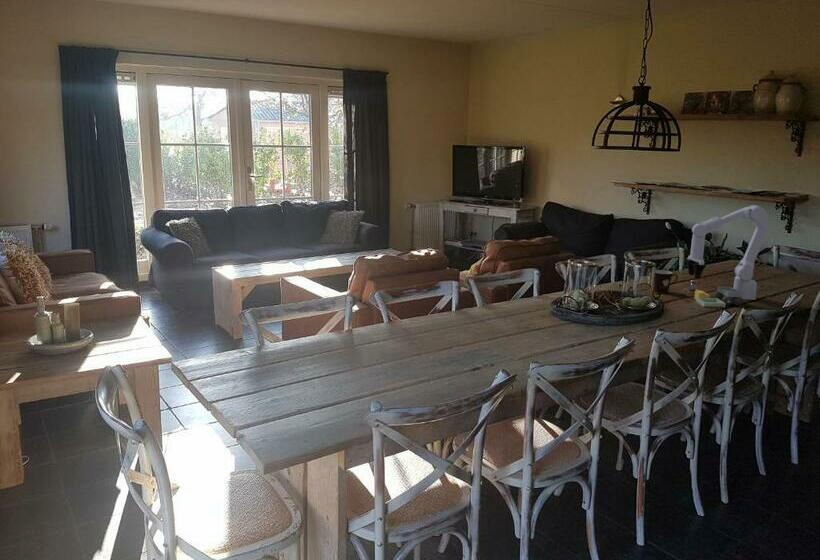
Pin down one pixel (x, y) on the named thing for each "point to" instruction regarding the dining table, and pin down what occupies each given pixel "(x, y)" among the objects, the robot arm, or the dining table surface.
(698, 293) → the block
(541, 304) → the dining table surface
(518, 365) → the dining table surface
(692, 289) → the stop pin
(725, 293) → the trolley
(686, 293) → the pin socket
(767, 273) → the dining table surface
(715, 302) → the tray
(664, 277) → the coffee mug
